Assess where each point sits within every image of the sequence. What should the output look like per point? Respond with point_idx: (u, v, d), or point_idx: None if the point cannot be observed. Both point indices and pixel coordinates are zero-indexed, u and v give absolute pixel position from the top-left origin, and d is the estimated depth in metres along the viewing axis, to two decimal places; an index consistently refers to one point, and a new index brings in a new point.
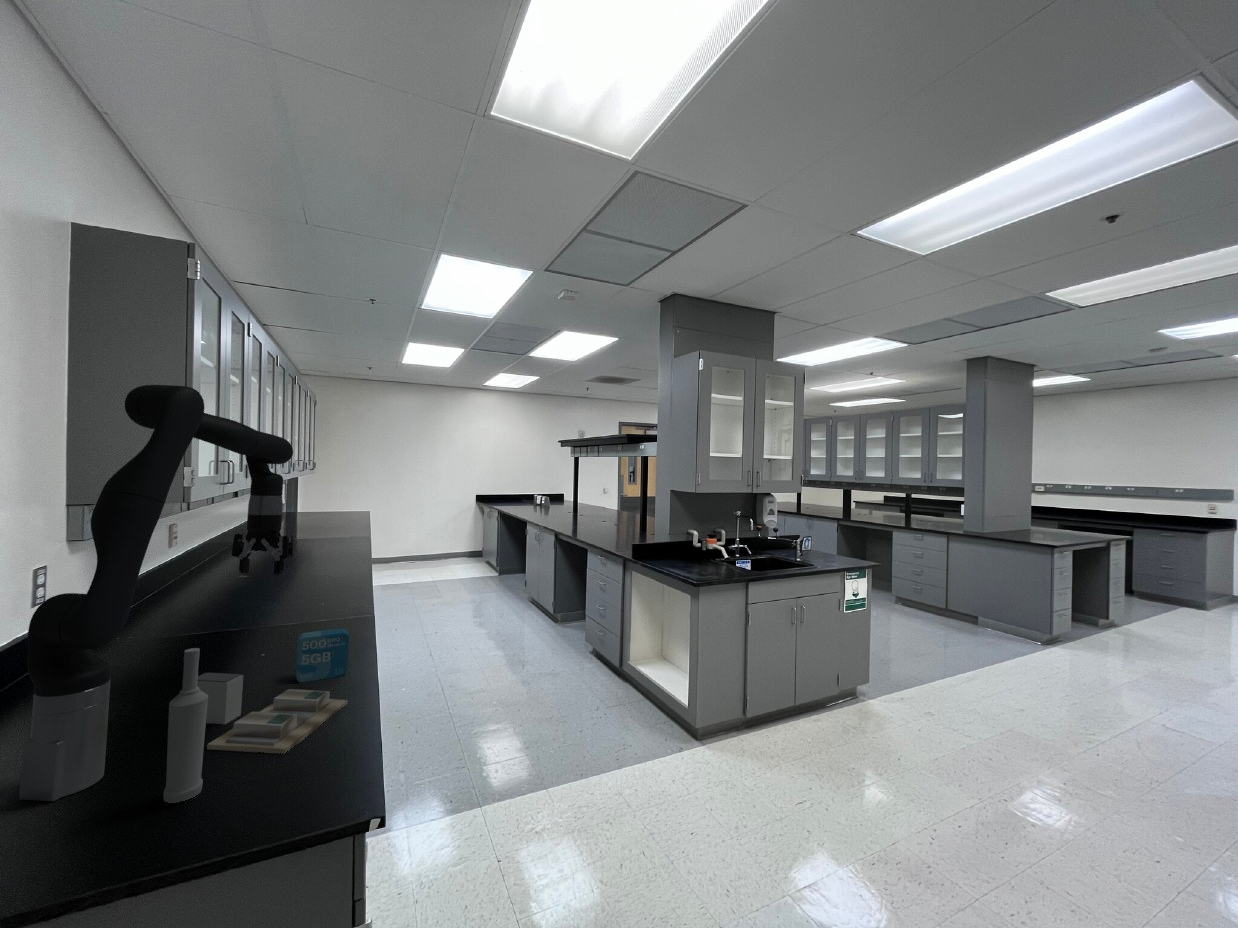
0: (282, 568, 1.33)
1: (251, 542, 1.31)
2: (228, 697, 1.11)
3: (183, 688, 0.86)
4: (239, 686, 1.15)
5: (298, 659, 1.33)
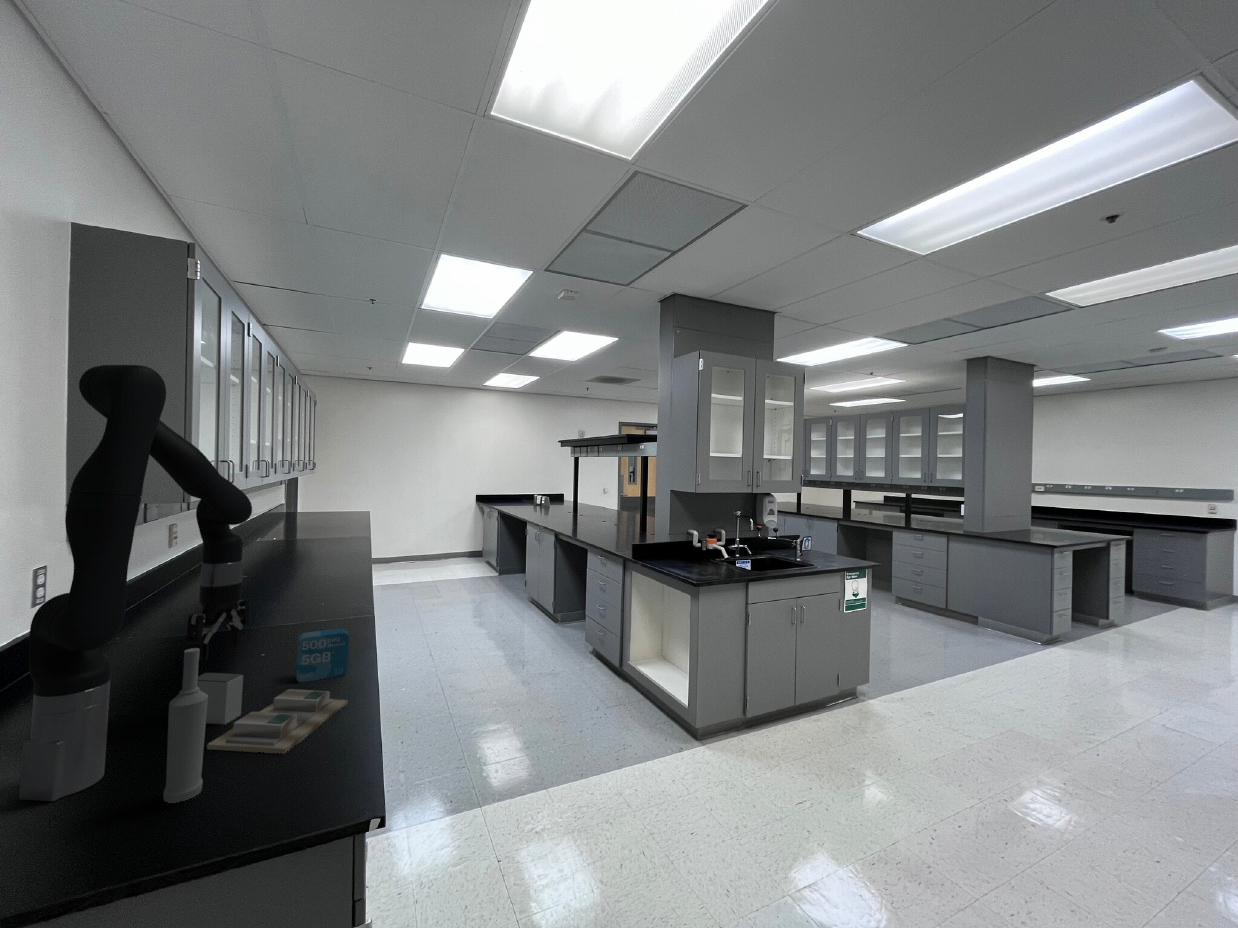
0: None
1: (221, 618, 1.12)
2: (228, 697, 1.11)
3: (183, 688, 0.86)
4: (239, 686, 1.15)
5: (298, 659, 1.33)
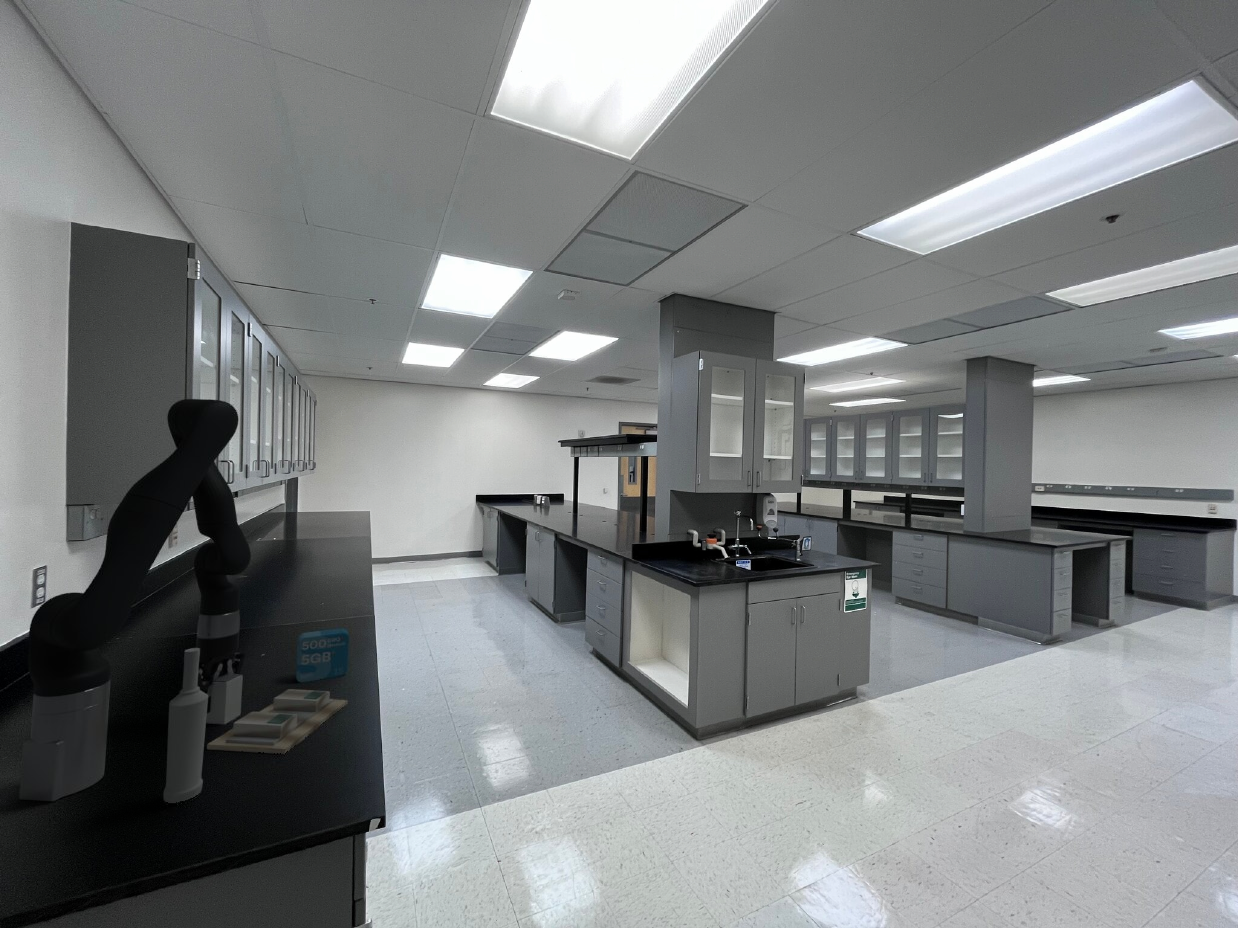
0: None
1: (218, 669, 1.12)
2: (227, 697, 1.11)
3: (183, 688, 0.86)
4: (239, 686, 1.15)
5: (298, 659, 1.33)
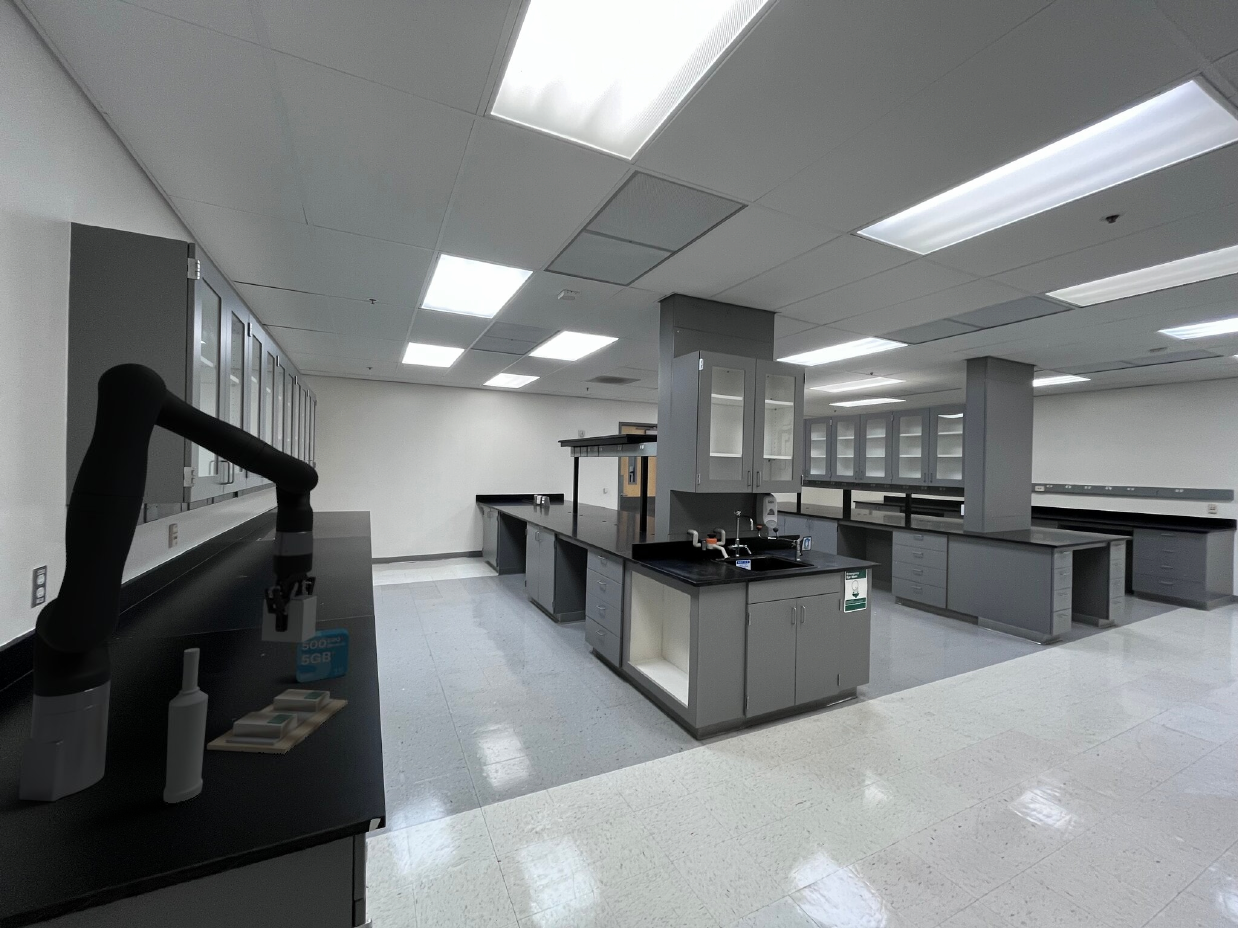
0: None
1: (295, 588, 1.11)
2: (304, 615, 1.10)
3: (183, 688, 0.86)
4: (313, 606, 1.14)
5: (298, 659, 1.33)
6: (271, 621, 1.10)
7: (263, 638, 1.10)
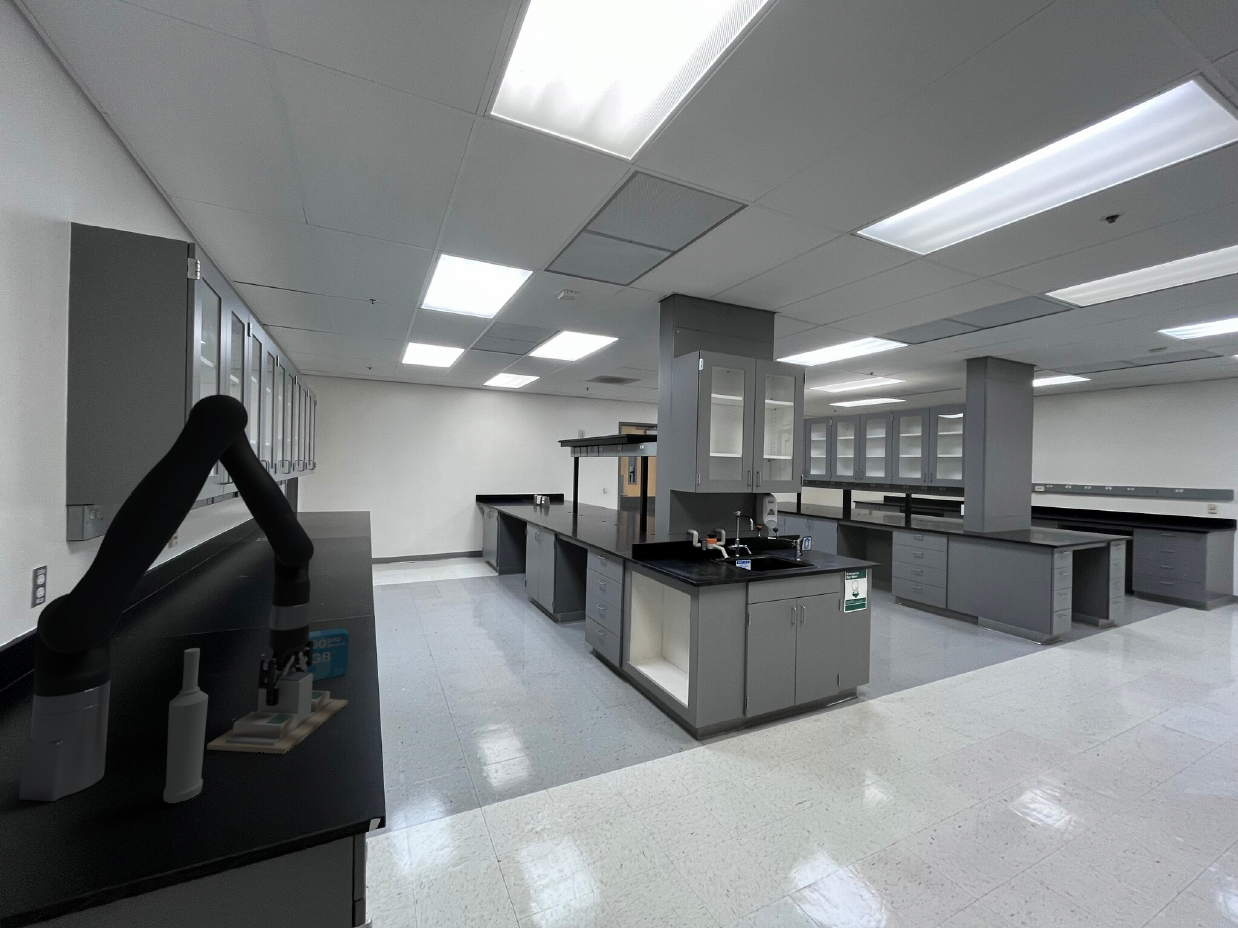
0: None
1: (290, 661, 1.10)
2: (300, 696, 1.10)
3: (183, 688, 0.86)
4: (309, 684, 1.13)
5: None
6: None
7: None
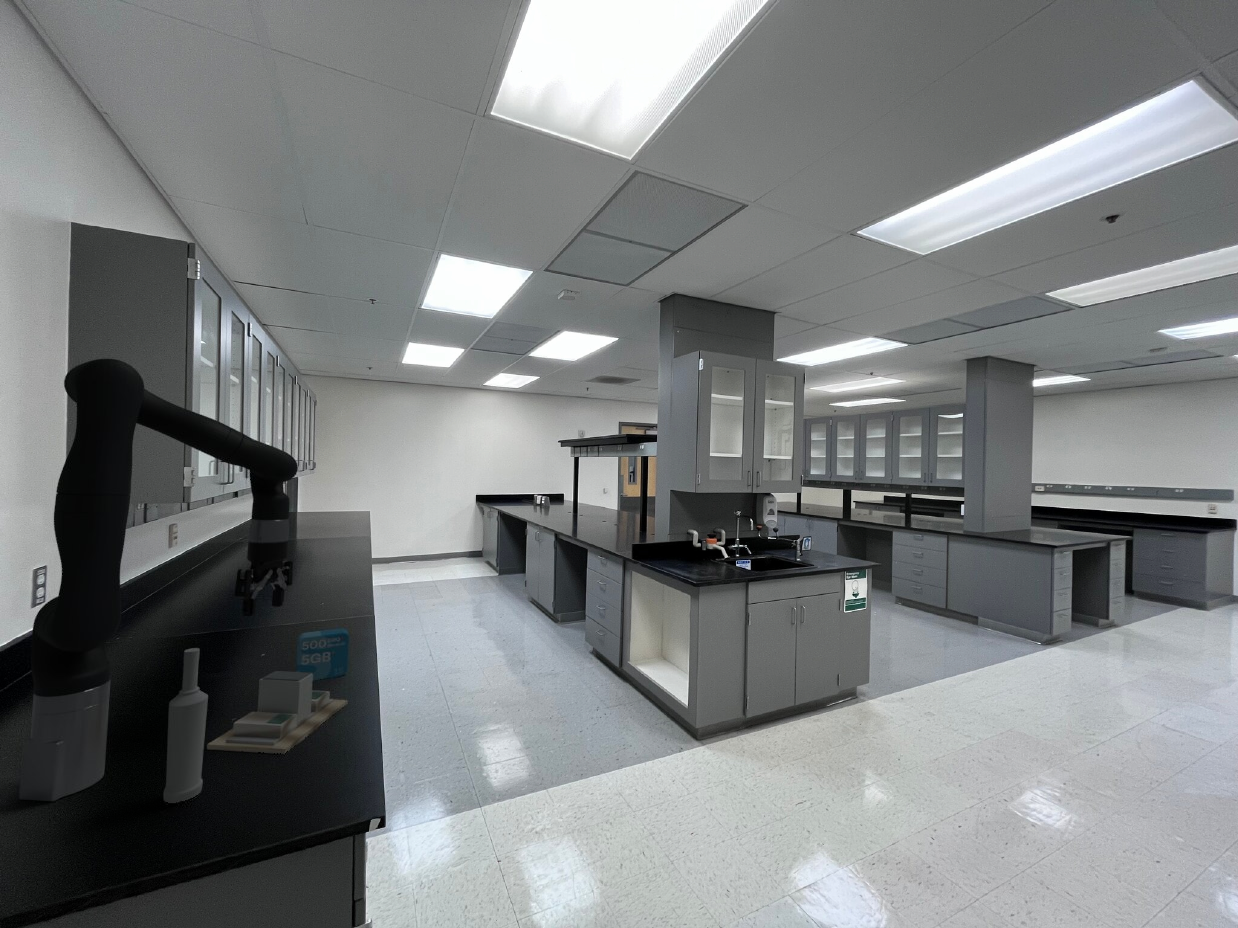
0: None
1: (268, 575, 1.12)
2: (300, 696, 1.10)
3: (183, 688, 0.86)
4: (309, 684, 1.13)
5: (298, 659, 1.33)
6: (267, 701, 1.10)
7: None
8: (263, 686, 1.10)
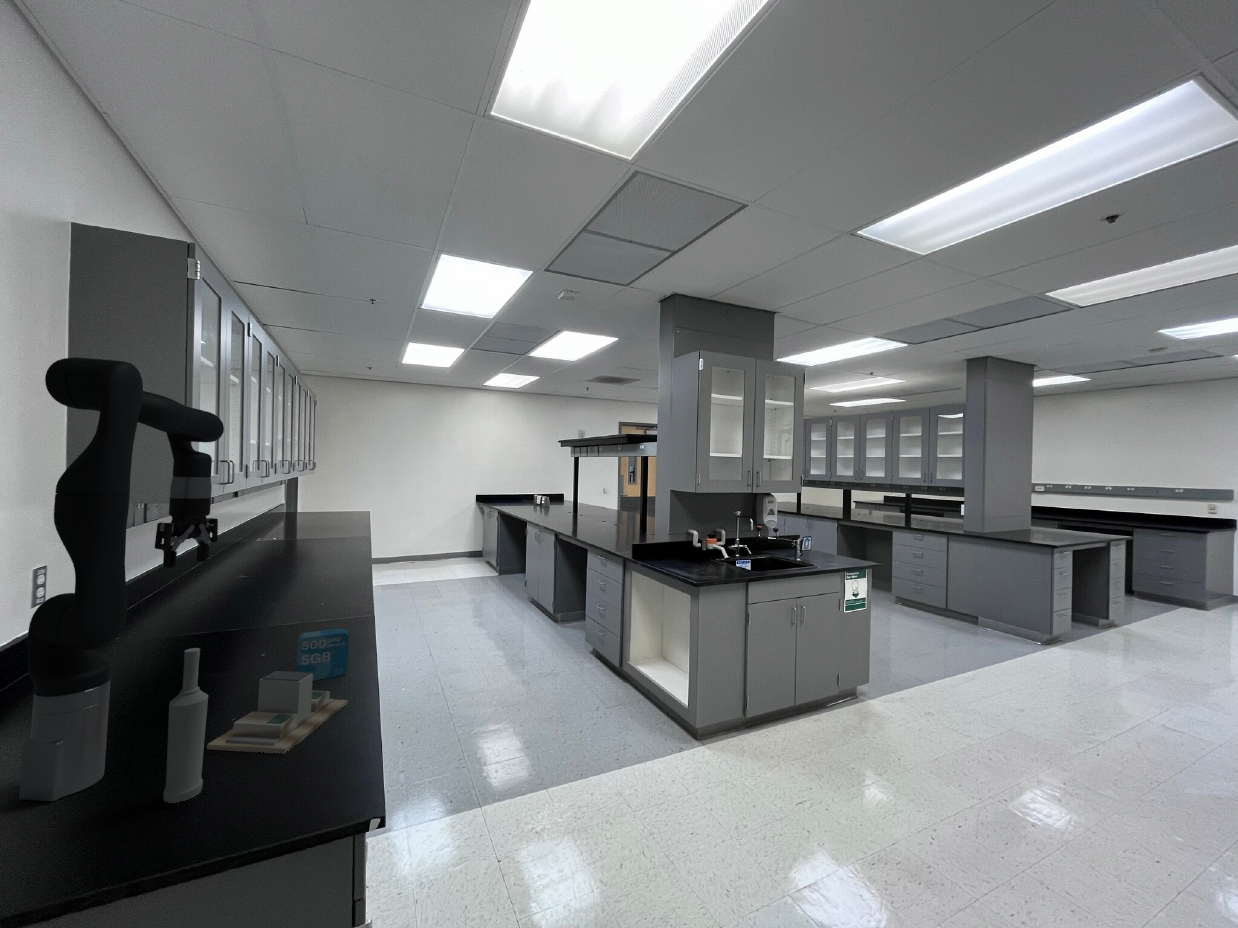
0: None
1: (189, 529, 1.18)
2: (300, 696, 1.10)
3: (183, 688, 0.86)
4: (309, 684, 1.13)
5: (298, 659, 1.33)
6: (267, 701, 1.10)
7: None
8: (263, 686, 1.10)
